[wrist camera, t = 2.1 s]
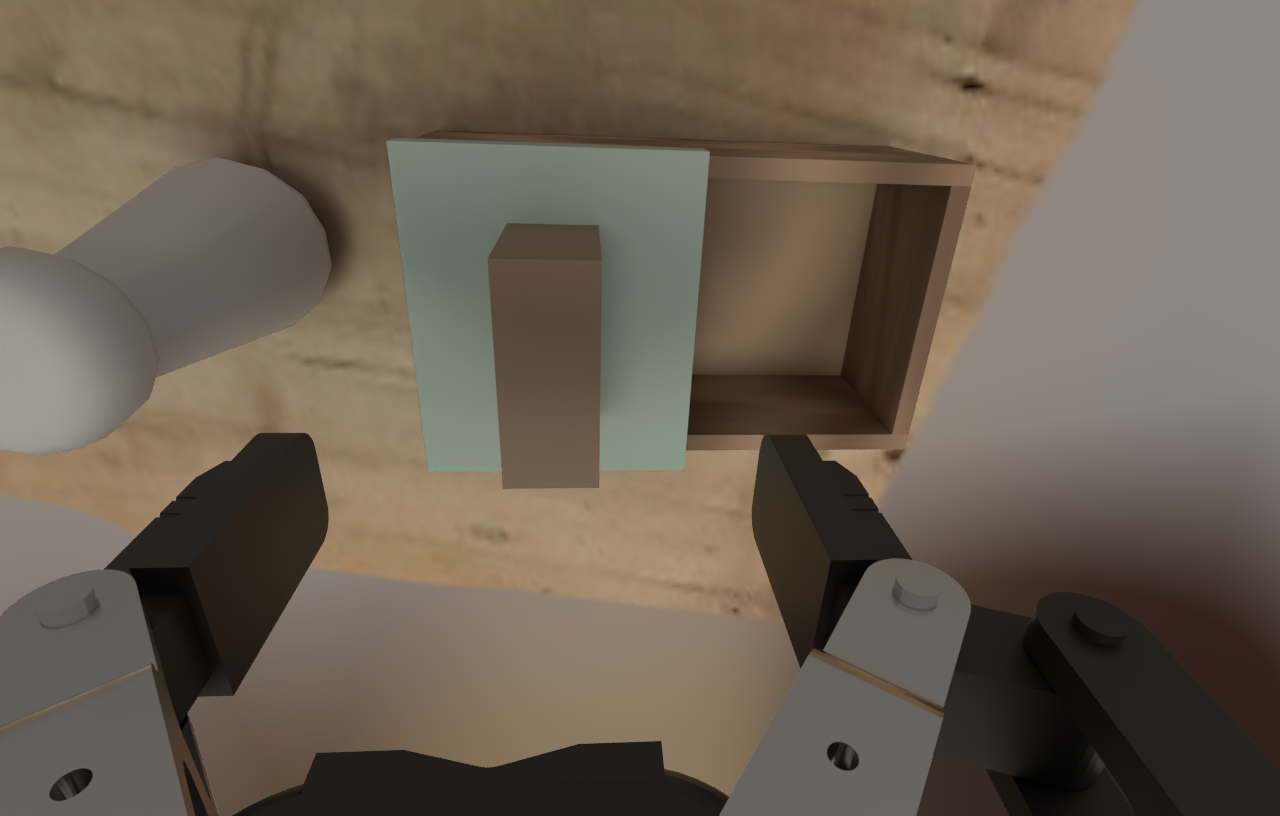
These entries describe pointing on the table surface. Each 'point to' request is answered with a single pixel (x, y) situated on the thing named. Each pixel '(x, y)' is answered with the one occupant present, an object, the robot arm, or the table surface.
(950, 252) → the box
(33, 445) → the salt shaker
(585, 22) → the table surface
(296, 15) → the table surface
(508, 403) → the lid
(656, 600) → the table surface
